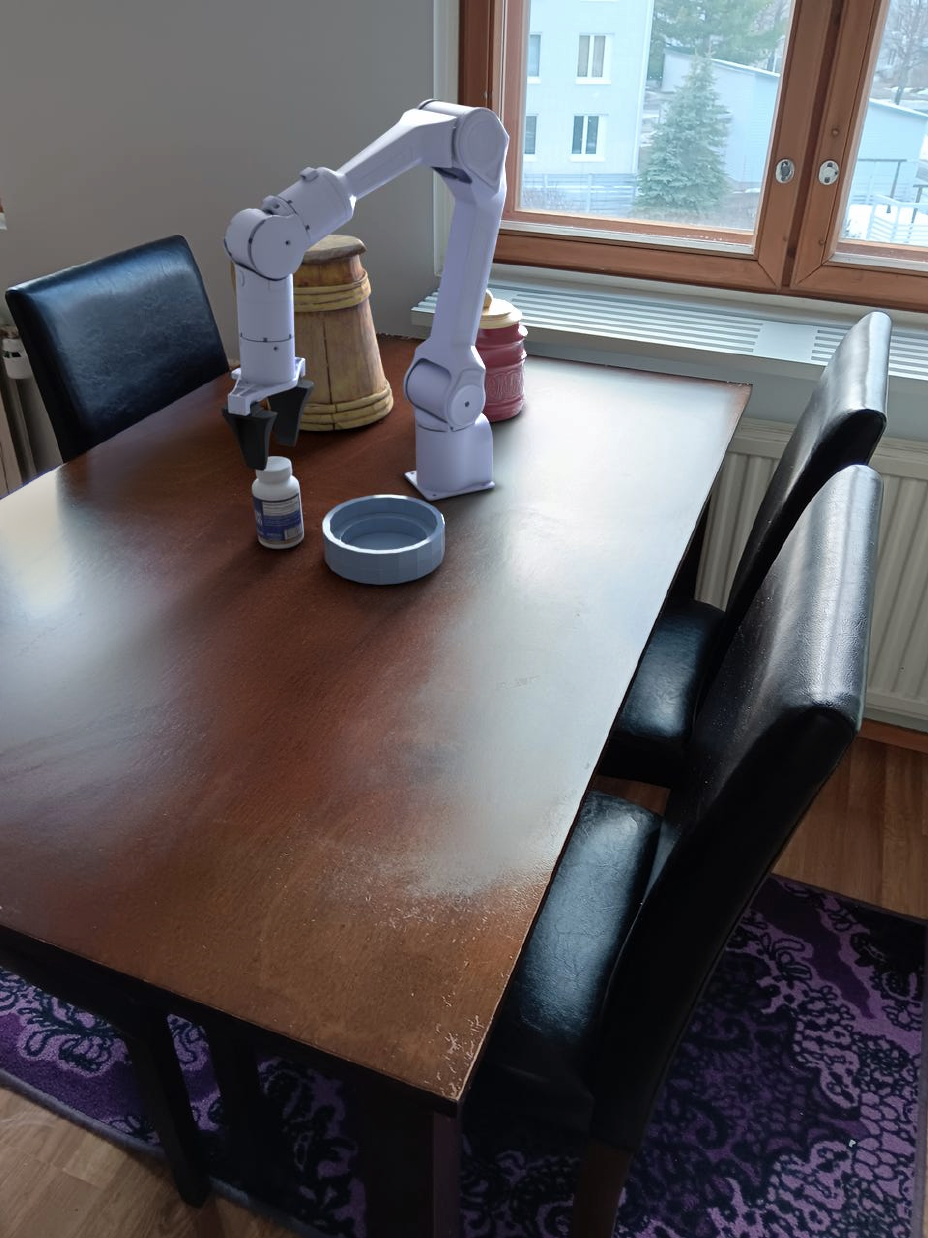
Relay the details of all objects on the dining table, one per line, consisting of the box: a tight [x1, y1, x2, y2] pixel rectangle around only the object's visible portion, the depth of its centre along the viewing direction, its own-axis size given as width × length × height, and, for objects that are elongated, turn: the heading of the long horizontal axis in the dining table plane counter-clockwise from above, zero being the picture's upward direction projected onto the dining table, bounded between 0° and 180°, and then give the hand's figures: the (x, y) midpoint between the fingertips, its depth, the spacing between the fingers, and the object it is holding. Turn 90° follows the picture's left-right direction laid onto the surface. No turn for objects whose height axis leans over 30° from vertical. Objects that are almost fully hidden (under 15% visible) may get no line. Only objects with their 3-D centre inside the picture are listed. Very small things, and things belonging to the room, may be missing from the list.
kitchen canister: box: [475, 289, 528, 423], centre depth 143 cm, size 13×13×18 cm
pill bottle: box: [251, 455, 305, 550], centre depth 112 cm, size 5×5×10 cm
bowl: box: [321, 494, 446, 586], centre depth 110 cm, size 14×14×4 cm
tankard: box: [230, 234, 394, 432], centre depth 140 cm, size 18×24×25 cm
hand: (271, 455), depth 109 cm, fingers open, 7 cm apart
